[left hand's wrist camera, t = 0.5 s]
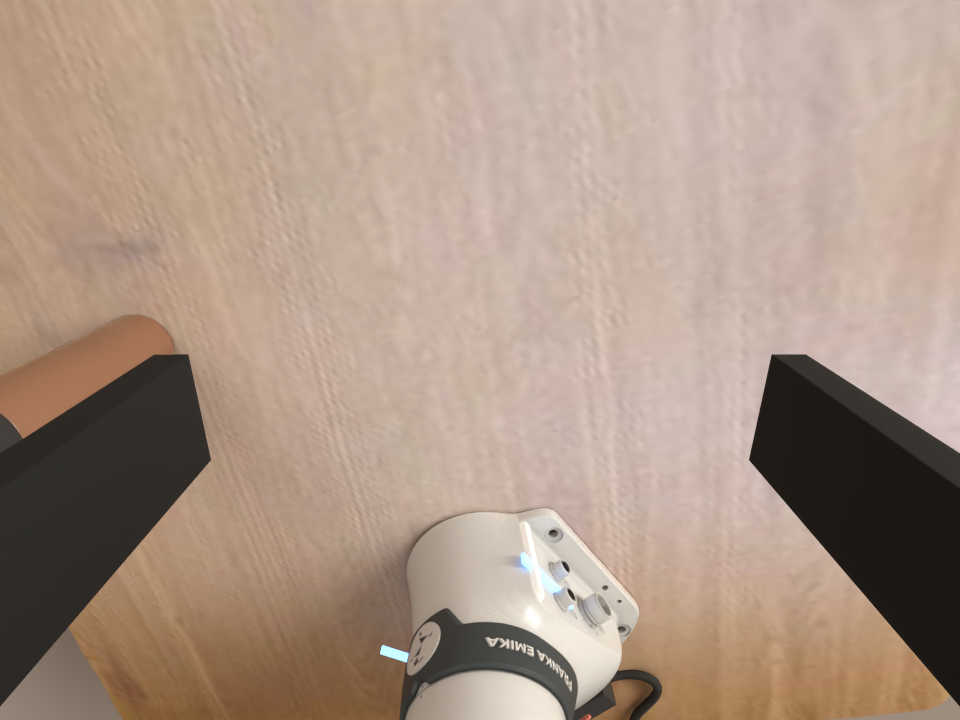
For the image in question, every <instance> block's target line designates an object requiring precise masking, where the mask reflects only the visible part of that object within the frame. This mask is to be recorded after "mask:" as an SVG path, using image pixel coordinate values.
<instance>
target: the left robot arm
mask: <svg viewBox="0 0 960 720" xmlns="http://www.w3.org/2000/svg"><path fill="white" fill-rule="evenodd" d="M210 460H211V458H210V454H209V449H208V444H207V440H206V435H205V430H204V426H203V421H202V416H201V412H200V407H199V402H198V398H197V393H196V388H195V384H194V379H193V374H192V370H191V365H190V360H189V356H188V355H153V356H151V357H150V358H148V359H146V360H145V361H143V362H142V363H140V364H139V365H137V366H136V367H134V368H132V369H131V370H129V371H128V372H126V373H125V374H123V375H122V376H120V377H118V378H117V379H115V380H114V381H112V382H111V383H109V384H108V385H106V386H104V387H103V388H101V389H100V390H98V391H97V392H95V393H94V394H92V395H90V396H89V397H87V398H86V399H84V400H83V401H81V402H79V403H78V404H76V405H75V406H73V407H72V408H70V409H69V410H67V411H65V412H64V413H62V414H61V415H59V416H58V417H56V418H55V419H53V420H51V421H50V422H48V423H47V424H45V425H44V426H42V427H41V428H39V429H37V430H36V431H34V432H33V433H31V434H30V435H28V436H27V437H25V438H23V439H22V440H20V441H19V442H17V443H16V444H14V445H13V446H11V447H9V448H8V449H6V450H5V451H3V452H2V453H0V706H1V705H2V704H3V702H4V701H5V700H6V699H7V698H8V697H9V695H10V694H11V693H12V692H13V691H14V690H15V688H16V687H17V686H18V685H19V684H20V683H21V681H22V680H23V679H24V678H25V677H26V676H27V674H28V673H29V672H30V671H31V670H32V669H33V667H34V666H35V665H36V664H37V663H38V662H39V660H40V659H41V658H42V657H43V656H44V654H45V653H46V652H47V651H48V650H49V649H50V648H51V646H52V645H53V644H54V643H55V642H56V640H57V639H58V638H59V637H60V636H61V635H62V633H63V632H64V631H65V630H66V629H67V628H68V626H69V625H70V624H71V623H72V622H73V621H74V619H75V618H76V617H77V616H78V615H79V614H80V612H81V611H82V610H83V609H84V608H85V607H86V605H87V604H88V603H89V602H90V601H91V600H92V598H93V597H94V596H95V595H96V594H97V593H98V591H99V590H100V589H101V588H102V587H103V586H104V584H105V583H106V582H107V581H108V580H109V579H110V577H111V576H112V575H113V574H114V573H115V572H116V570H117V569H118V568H119V567H120V566H121V565H122V563H123V562H124V561H125V560H126V559H127V557H128V556H129V555H130V554H131V553H132V552H133V550H134V549H135V548H136V547H137V546H138V545H139V543H140V542H141V541H142V540H143V539H144V538H145V536H146V535H147V534H148V533H149V532H150V531H151V529H152V528H153V527H154V526H155V525H156V524H157V522H158V521H159V520H160V519H161V518H162V517H163V515H164V514H165V513H166V512H167V511H168V510H169V508H170V507H171V506H172V505H173V504H174V503H175V501H176V500H177V499H178V498H179V497H180V496H181V494H182V493H183V492H184V491H185V490H186V489H187V487H188V486H189V485H190V484H191V483H192V482H193V480H194V479H195V478H196V477H197V476H198V474H199V473H200V472H201V471H202V470H203V469H204V467H205V466H206V465H207V464H208V463H209V462H210ZM749 460H750V462H751V463H752V464H753V465H754V466H755V467H756V469H757V470H758V471H759V472H760V473H761V474H762V476H763V477H764V478H765V479H766V480H767V482H768V483H769V484H770V485H771V486H772V487H773V489H774V490H775V491H776V492H777V493H778V494H779V496H780V497H781V498H782V499H783V500H784V501H785V503H786V504H787V505H788V506H789V507H790V508H791V510H792V511H793V512H794V513H795V514H796V515H797V517H798V518H799V519H800V520H801V521H802V522H803V524H804V525H805V526H806V527H807V528H808V529H809V531H810V532H811V533H812V534H813V535H814V536H815V538H816V539H817V540H818V541H819V542H820V543H821V545H822V546H823V547H824V548H825V549H826V550H827V552H828V553H829V554H830V555H831V556H832V557H833V559H834V560H835V561H836V562H837V563H838V565H839V566H840V567H841V568H842V569H843V570H844V572H845V573H846V574H847V575H848V576H849V577H850V579H851V580H852V581H853V582H854V583H855V584H856V586H857V587H858V588H859V589H860V590H861V591H862V593H863V594H864V595H865V596H866V597H867V598H868V600H869V601H870V602H871V603H872V604H873V605H874V607H875V608H876V609H877V610H878V611H879V612H880V614H881V615H882V616H883V617H884V618H885V619H886V621H887V622H888V623H889V624H890V625H891V626H892V628H893V629H894V630H895V631H896V632H897V633H898V635H899V636H900V637H901V638H902V639H903V641H904V642H905V643H906V644H907V645H908V646H909V648H910V649H911V650H912V651H913V652H914V653H915V655H916V656H917V657H918V658H919V659H920V660H921V662H922V663H923V664H924V665H925V666H926V667H927V669H928V670H929V671H930V672H931V673H932V674H933V676H934V677H935V678H936V679H937V680H938V681H939V683H940V684H941V685H942V686H943V687H944V688H945V690H946V691H947V692H948V693H949V694H950V695H951V697H952V698H953V699H954V700H955V701H956V702H957V704H958V705H959V706H960V453H958V452H957V451H955V450H954V449H952V448H951V447H949V446H947V445H946V444H944V443H943V442H941V441H940V440H938V439H937V438H935V437H933V436H932V435H930V434H929V433H927V432H926V431H924V430H923V429H921V428H919V427H918V426H916V425H915V424H913V423H912V422H910V421H909V420H907V419H905V418H904V417H902V416H901V415H899V414H898V413H896V412H895V411H893V410H891V409H890V408H888V407H887V406H885V405H884V404H882V403H881V402H879V401H877V400H876V399H874V398H873V397H871V396H870V395H868V394H866V393H865V392H863V391H862V390H860V389H859V388H857V387H856V386H854V385H852V384H851V383H849V382H848V381H846V380H845V379H843V378H842V377H840V376H838V375H837V374H835V373H834V372H832V371H831V370H829V369H828V368H826V367H824V366H823V365H821V364H820V363H818V362H817V361H815V360H814V359H812V358H810V357H809V356H807V355H772V356H771V360H770V365H769V370H768V374H767V379H766V384H765V388H764V393H763V398H762V402H761V407H760V412H759V416H758V421H757V426H756V430H755V435H754V440H753V444H752V449H751V453H750V458H749Z"/></svg>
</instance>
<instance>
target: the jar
mask: <svg viewBox="0 0 960 720" xmlns="http://www.w3.org/2000/svg"><path fill="white" fill-rule="evenodd" d="M153 355H174V346H173V342H172V339H171V337H170V335H169V334H168V332H167V331H166V330H165V329H164V328H163V327H162V326H161V325H160V324H159V323H157V322H156V321H154V320H152V319H150V318H148V317H145V316H141V315H127V316H124V317H121V318H119V319H117V320H115V321H113V322H111V323H109V324H107V325H105V326H103V327H101V328H98V329H96V330H94V331H92V332H90V333H88V334H86V335H84V336H82V337H80V338H78V339H76V340H73V341H71V342H69V343H67V344H65V345H63V346H61V347H59V348H57V349H55V350H53V351H51V352H48V353H46V354H44V355H42V356H40V357H38V358H36V359H34V360H32V361H30V362H28V363H26V364H23V365H21V366H19V367H17V368H15V369H13V370H11V371H9V372H7V373H5V374H3V375H1V376H0V414H1V415H3V416H4V417H5V418H6V419H8V420H9V421H10V422H11V423H12V424H13V426H14V427H15V428H16V429H17V431H18V432H19V433H20V435H21V437H22V439H23V438H25V437H27V436H28V435H30V434H31V433H33V432H34V431H36V430H37V429H39V428H41V427H42V426H44V425H45V424H47V423H48V422H50V421H51V420H53V419H55V418H56V417H58V416H59V415H61V414H62V413H64V412H65V411H67V410H69V409H70V408H72V407H73V406H75V405H76V404H78V403H79V402H81V401H83V400H84V399H86V398H87V397H89V396H90V395H92V394H94V393H95V392H97V391H98V390H100V389H101V388H103V387H104V386H106V385H108V384H109V383H111V382H112V381H114V380H115V379H117V378H118V377H120V376H122V375H123V374H125V373H126V372H128V371H129V370H131V369H132V368H134V367H136V366H137V365H139V364H140V363H142V362H143V361H145V360H146V359H148V358H150V357H151V356H153Z"/></svg>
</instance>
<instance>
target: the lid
mask: <svg viewBox="0 0 960 720" xmlns="http://www.w3.org/2000/svg"><path fill="white" fill-rule="evenodd" d="M20 440H22V437H21V435H20V433H19V432H18V431H17V429H16V428H15V427H14V426H13V424H12V423H11V422H10V421H9V420H8V419H6V418H5V417H4V416H3V415H1V414H0V453H2V452H3V451H5V450H6V449H8V448H9V447H11V446H13V445H14V444H16V443H17V442H19V441H20Z"/></svg>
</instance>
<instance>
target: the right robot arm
mask: <svg viewBox="0 0 960 720" xmlns="http://www.w3.org/2000/svg"><path fill="white" fill-rule="evenodd" d="M550 530H556V531H555V532H549V531H550ZM406 577H407V584H408V588H409V593H410V600H411V610H412V642H411V646H410V650H409V654H408V653H405V652H402V651H399V650H396V649H393V648H390V647H387V646H384V645H383V646H382V648H381V653H380V654H382V655H385V656H388V657H391V658H395V659H398V660H401V661H404V662H407V663H406V668H405V675H404V682H403V690H402V699H401V709H400V720H591V719H592V718H594V717H596V716H598V715H599V714H601V713H603V712H604V711H606V710H608V709H610V708H611V707H613V706H615V705H616V701H615V697H614V693H613V689H612V685H611V682H614V681H617V680H623V679H637V680H642V681H645V682H647V683H649V684H651V685H652V686H653V691H652V692H651V694H650V695H649V696H648V697H647V698H646V699H645V700H644V701H643V702H642V703H641V704H640V705H639V706H638V707H637V708H636V709H635V710H634V711H633V713H632V715H631V717H630V720H639V719H640V718H641V717H642V716H643V715H644V714H645V713H646V712H647V711H648V710H649V709H650V708H651V707H652V706H653V705H654V704H655V703H656V702H657V701H658V699H659V698H660V696H661V693H662V686H661V684H660V682H659V680H658V679H657V678H656V677H654V676H653V675H651V674H649V673H646V672H643V671H638V670H624V671H617V670H618V668H619V665H620V662H621V657H622V647H621V644H622V643H623V642H624V641H625V640H626V638H627V637H628V636H629V634H630V633H631V632H632V630H633V628H634V626H635V624H636V622H637V619H638V616H639V610H638V605H637V603H636V601H635V600H634V599H633V598H632V596H631V595H630V594H629V593H628V592H627V591H626V590H625V589H624V587H623V586H622V585H621V584H620V583H619V582H618V581H617V580H616V579H615V577H614V576H613V575H612V574H611V573H610V572H609V571H608V570H607V569H606V567H605V566H604V565H603V564H602V563H601V562H600V561H599V560H598V559H597V557H596V556H595V555H594V554H593V553H592V552H591V551H590V550H589V549H588V547H587V546H586V545H585V544H584V543H583V542H582V541H581V540H580V539H579V537H578V536H577V535H576V534H575V533H574V532H573V531H572V530H571V528H570V527H569V526H568V525H567V524H566V523H565V522H564V521H563V520H562V518H561V517H560V516H559V515H558V514H557V513H556V512H555V511H553V510H551V509H548V508H540V509H534V510H529V511H525V512H521V513H517V514H507V513H497V512H475V513H468V514H463V515H459V516H456V517H453V518H450V519H448V520H445V521H443V522H441V523H439V524H438V525H436V526H434V527H433V528H431V529H430V530H429V531H428V532H426V533H425V534H424V535H423V536H422V537H421V538H420V539H419V541H418V542H417V543H416V545H415V546H414V548H413V550H412V551H411V554H410V556H409V559H408V563H407V569H406Z"/></svg>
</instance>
